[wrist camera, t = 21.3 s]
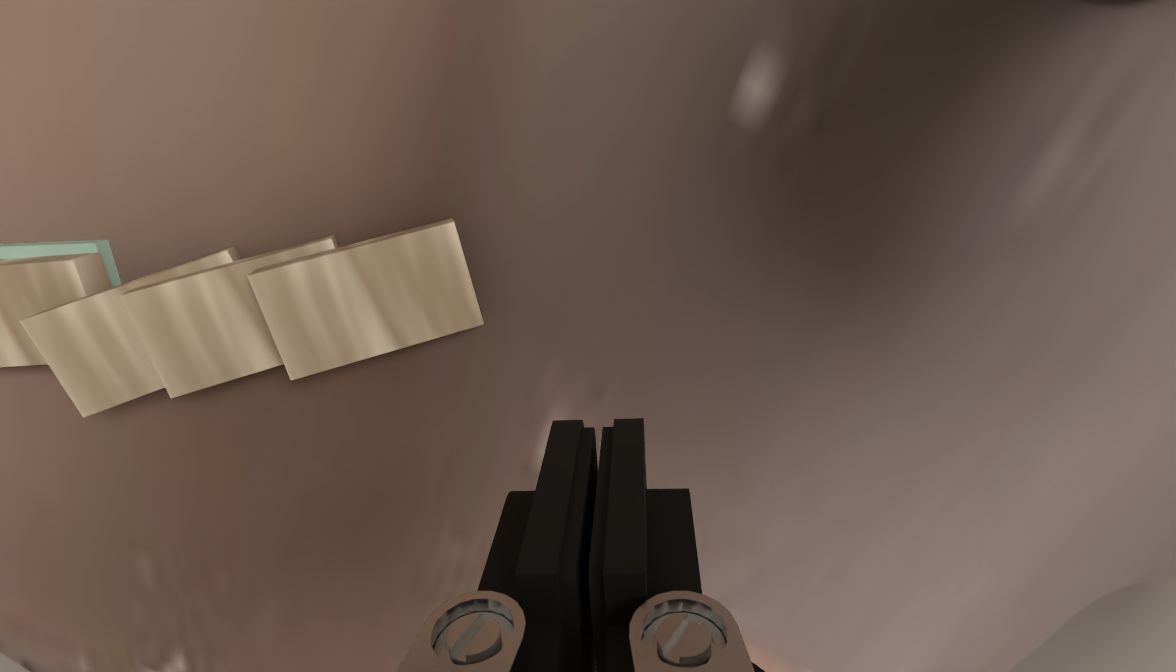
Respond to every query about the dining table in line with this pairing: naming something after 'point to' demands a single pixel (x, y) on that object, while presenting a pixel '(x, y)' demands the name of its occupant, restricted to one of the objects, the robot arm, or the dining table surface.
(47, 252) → the domino
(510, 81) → the dining table surface
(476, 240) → the dining table surface
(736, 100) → the dining table surface
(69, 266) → the domino
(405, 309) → the domino
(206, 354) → the domino
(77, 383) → the domino
